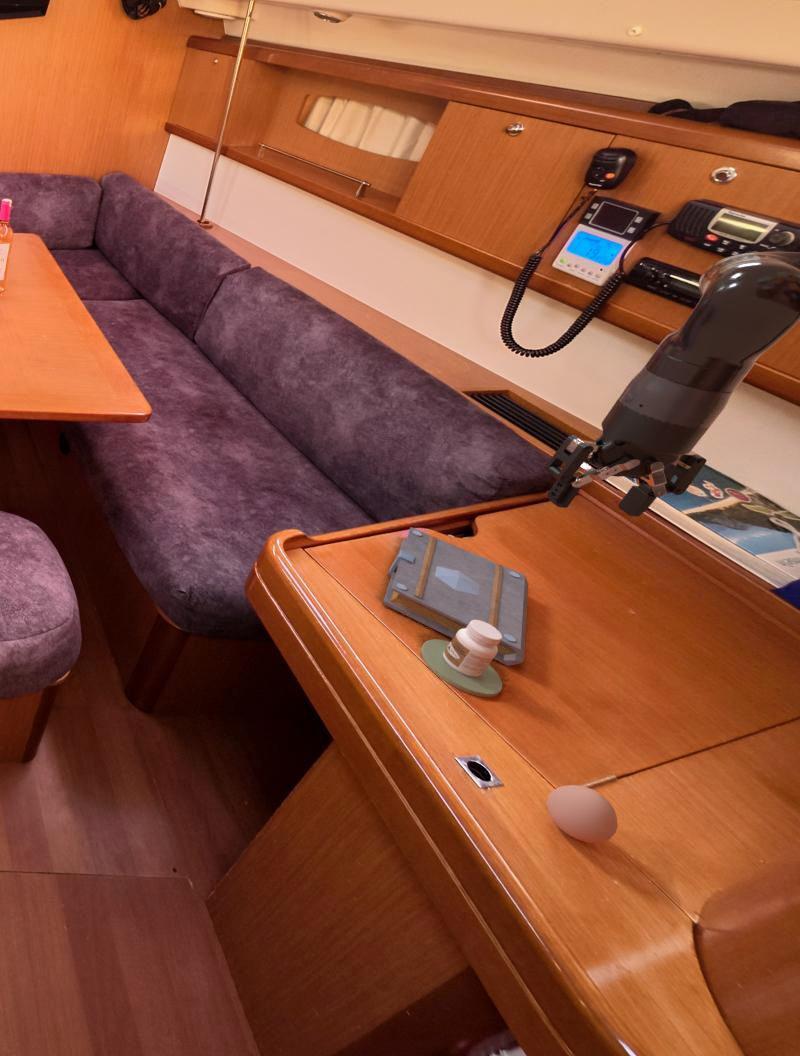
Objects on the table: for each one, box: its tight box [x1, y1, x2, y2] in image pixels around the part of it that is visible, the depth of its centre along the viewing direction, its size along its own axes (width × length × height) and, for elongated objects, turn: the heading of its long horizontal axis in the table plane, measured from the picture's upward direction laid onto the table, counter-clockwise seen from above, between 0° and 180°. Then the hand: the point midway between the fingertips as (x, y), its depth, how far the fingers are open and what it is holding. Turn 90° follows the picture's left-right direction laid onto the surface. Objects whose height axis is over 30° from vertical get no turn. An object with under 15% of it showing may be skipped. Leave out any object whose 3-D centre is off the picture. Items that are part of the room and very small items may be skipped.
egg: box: [546, 784, 618, 844], centre depth 73 cm, size 5×5×7 cm
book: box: [382, 526, 529, 667], centre depth 104 cm, size 21×16×5 cm
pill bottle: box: [443, 620, 502, 677], centre depth 91 cm, size 4×4×8 cm
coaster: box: [420, 638, 503, 698], centre depth 93 cm, size 9×9×1 cm
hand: (591, 508), depth 85 cm, fingers open, 8 cm apart
